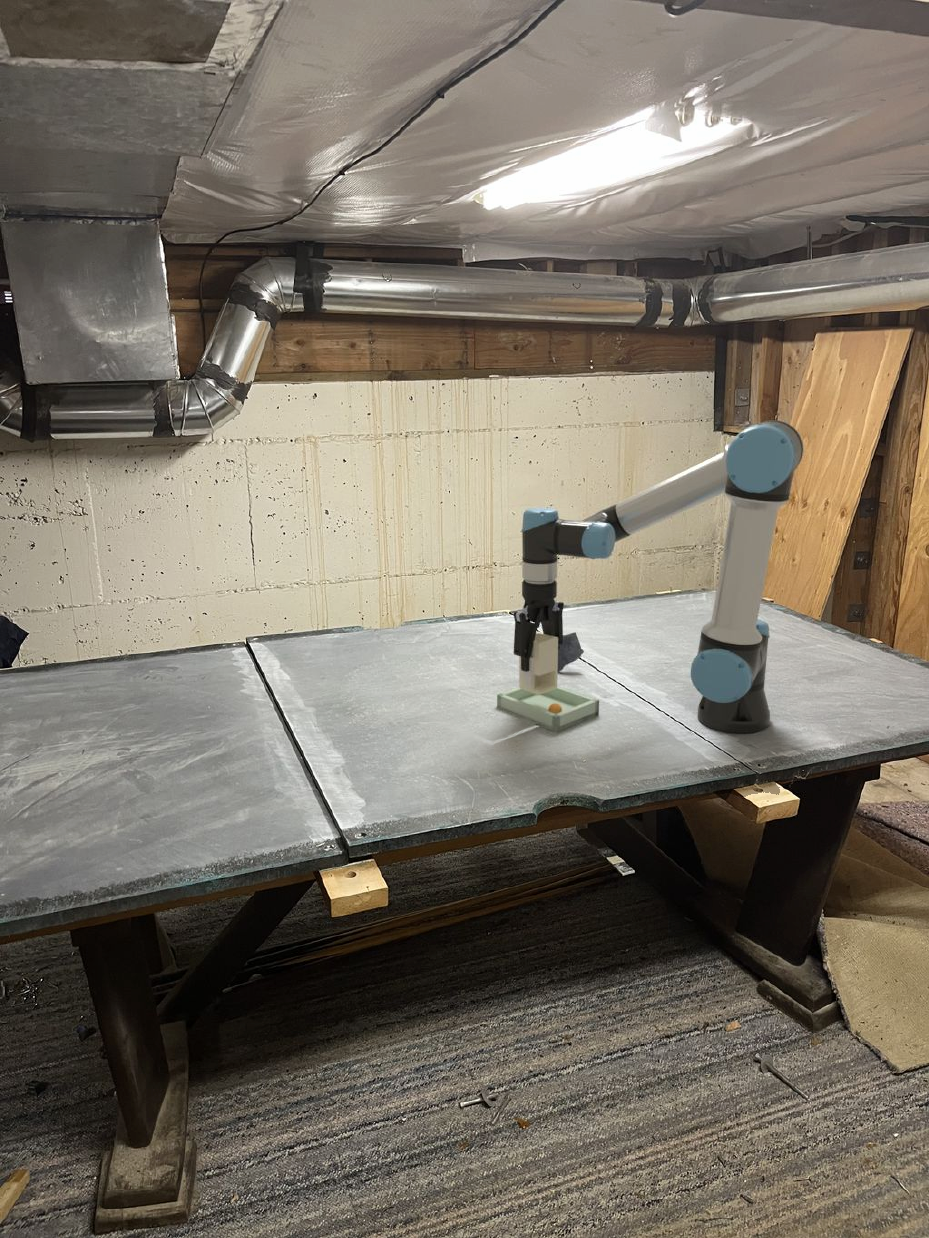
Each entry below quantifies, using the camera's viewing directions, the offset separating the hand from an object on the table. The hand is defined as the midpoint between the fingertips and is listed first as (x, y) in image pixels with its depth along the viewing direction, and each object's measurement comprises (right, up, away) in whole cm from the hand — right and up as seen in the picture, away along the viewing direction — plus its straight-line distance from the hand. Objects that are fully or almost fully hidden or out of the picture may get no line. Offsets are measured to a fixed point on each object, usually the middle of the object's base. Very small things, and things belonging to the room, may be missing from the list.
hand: (538, 680), depth 200 cm
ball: (+2, -6, -3) cm, 7 cm away
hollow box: (0, -2, +1) cm, 2 cm away
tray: (+2, -7, +1) cm, 8 cm away
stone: (+6, 0, +27) cm, 28 cm away
